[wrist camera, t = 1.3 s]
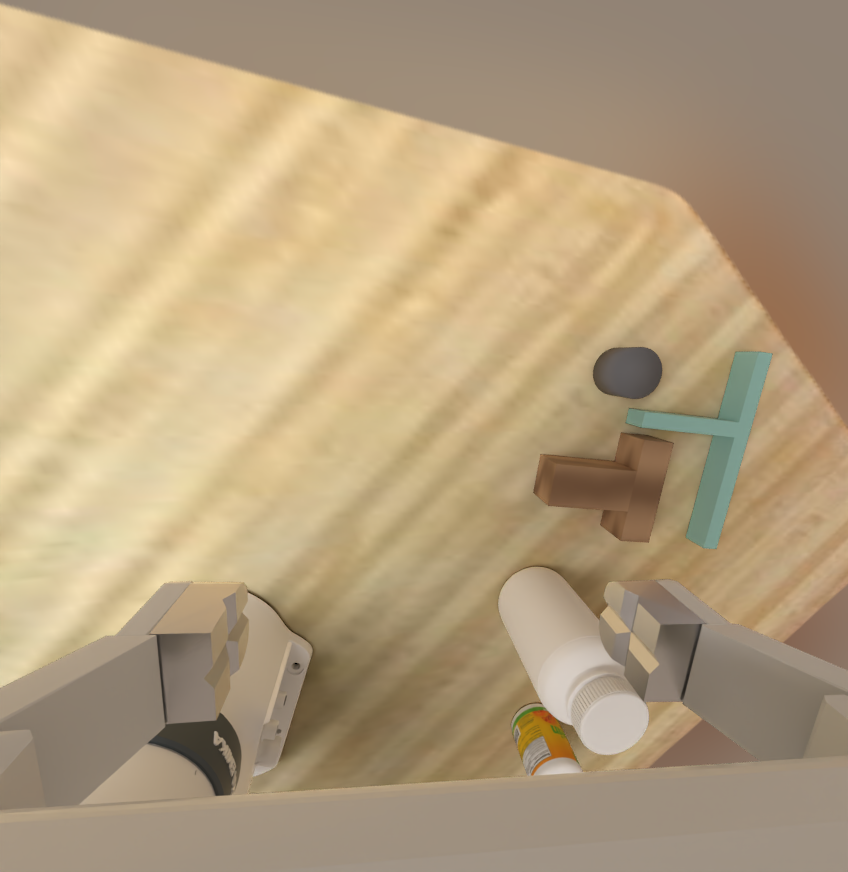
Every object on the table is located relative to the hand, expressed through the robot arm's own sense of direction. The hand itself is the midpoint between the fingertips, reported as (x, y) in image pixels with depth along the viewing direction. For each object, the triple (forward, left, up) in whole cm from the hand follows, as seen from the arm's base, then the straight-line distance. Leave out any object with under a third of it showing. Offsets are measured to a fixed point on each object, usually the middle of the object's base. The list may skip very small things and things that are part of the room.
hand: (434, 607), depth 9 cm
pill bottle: (-18, -17, -28) cm, 38 cm away
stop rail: (0, -29, -28) cm, 40 cm away
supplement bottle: (-34, -20, -28) cm, 49 cm away
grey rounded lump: (+6, -21, -28) cm, 36 cm away
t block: (-4, -21, -28) cm, 35 cm away
